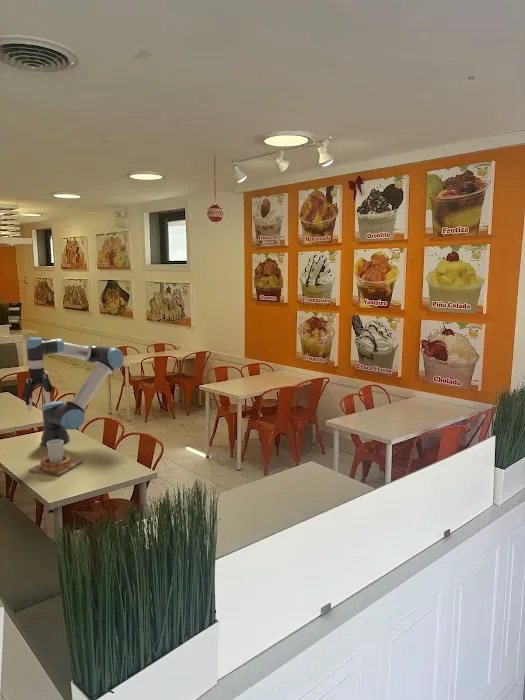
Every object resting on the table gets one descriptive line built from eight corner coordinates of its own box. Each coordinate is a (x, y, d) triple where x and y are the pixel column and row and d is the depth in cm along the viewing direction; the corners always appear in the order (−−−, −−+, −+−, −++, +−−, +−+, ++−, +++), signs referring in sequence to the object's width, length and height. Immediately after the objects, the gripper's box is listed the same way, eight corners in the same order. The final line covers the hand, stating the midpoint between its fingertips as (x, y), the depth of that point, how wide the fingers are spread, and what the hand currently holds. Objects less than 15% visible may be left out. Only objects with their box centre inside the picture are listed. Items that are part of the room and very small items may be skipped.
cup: (59, 468, 262) (57, 445, 260) (44, 467, 264) (43, 444, 262) (68, 462, 270) (66, 439, 268) (54, 461, 271) (52, 438, 269)
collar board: (53, 458, 278) (53, 451, 277) (82, 463, 272) (82, 455, 271) (28, 471, 261) (28, 463, 260) (58, 476, 255) (58, 468, 255)
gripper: (46, 362, 287) (49, 400, 291) (12, 371, 264) (15, 412, 267) (58, 363, 284) (60, 401, 288) (24, 373, 261) (27, 414, 265)
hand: (38, 407), depth 278 cm, fingers open, 13 cm apart
